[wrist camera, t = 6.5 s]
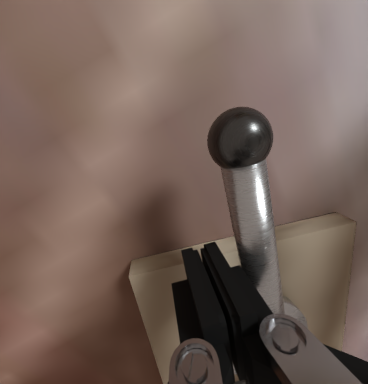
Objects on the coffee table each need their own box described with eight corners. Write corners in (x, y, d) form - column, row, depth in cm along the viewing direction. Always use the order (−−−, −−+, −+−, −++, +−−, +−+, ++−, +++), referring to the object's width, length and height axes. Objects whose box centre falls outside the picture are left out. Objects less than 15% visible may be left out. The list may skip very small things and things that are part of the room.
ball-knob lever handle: (306, 398, 17) (356, 486, 12) (237, 424, 16) (265, 522, 12) (278, 95, 9) (381, 67, 5) (148, 130, 9) (143, 133, 5)
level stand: (335, 212, 14) (362, 224, 12) (322, 380, 20) (339, 405, 18) (131, 260, 13) (127, 281, 11) (181, 423, 18) (184, 455, 17)
